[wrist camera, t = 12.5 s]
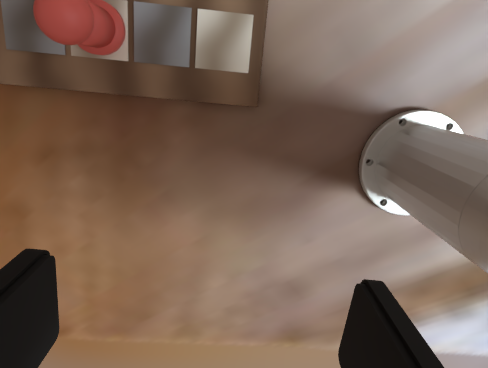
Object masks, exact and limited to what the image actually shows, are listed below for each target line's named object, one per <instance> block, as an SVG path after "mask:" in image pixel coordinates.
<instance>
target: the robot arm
mask: <svg viewBox="0 0 488 368" xmlns="http://www.w3.org/2000/svg"><path fill="white" fill-rule="evenodd" d="M399 121H400V123H399ZM367 160H368V162H366V161H367ZM359 177H360V182H361V185H362V188H363V190H364V192H365V194H366V195H367V197H368V198H369V199H370V200H371V201H372V202H373V203H374V204H375V205H376V206H378V207H379V208H380V209H382V210H384V211H386V212H388V213H392V214H396V215H406V216H407V215H411V216H413V217H414V218H415V219H417V220H418V221H419V222H421V223H422V224H423V225H424V226H426V227H427V228H428V229H430V230H431V231H432V232H434V233H435V234H436V235H438V236H439V237H440V238H441V239H443V240H444V241H445V242H447V243H448V244H449V245H451V246H452V247H453V248H455V249H456V250H457V251H458V252H460V253H461V254H463V255H464V256H465V257H466V258H468V259H469V260H470V261H472V262H473V263H475V264H476V265H477V266H479V267H480V268H481V269H483V270H484V271H485V272H487V273H488V140H485V139H481V138H477V137H474V136H470V135H466V134H464V133H463V131H462V129H461V128H460V127H459V126H458V124H457V123H456V122H455V121H454V120H452V119H451V118H450V117H448V116H446V115H444V114H442V113H439V112H435V111H431V110H421V109H420V110H410V111H407V112H403V113H400V114H398V115H396V116H394V117H392V118H390V119H388V120H387V121H386V122H384V123H383V124H382V125H380V126H379V127H378V128H377V129H376V130H375V132H374V133H373V134H372V135H371V137H370V138H369V140H368V141H367V142H366V145H365V147H364V149H363V151H362V154H361V158H360V162H359ZM381 200H382V201H381ZM58 334H59V315H58V298H57V281H56V265H55V258H54V256H50V253H49V251H47V250H38V249H25V250H23V251H22V252H21V253H20V254H18V255H17V256H16V257H15V258H14V259H12V260H11V261H10V262H9V263H8V264H6V265H5V266H4V267H3V268H2V269H0V368H38V367H39V365H40V364H41V362H42V361H43V359H44V358H45V356H46V355H47V353H48V352H49V350H50V349H51V347H52V346H53V344H54V343H55V341H56V339H57V337H58ZM338 356H339V363H340V366H341V368H444V367H443V365H442V364H441V362H440V361H439V360H438V358H437V357H436V355H435V354H434V353H433V351H432V350H431V348H430V347H429V346H428V344H427V343H426V341H425V340H424V338H423V337H422V336H421V334H420V333H419V331H418V330H417V329H416V327H415V326H414V324H413V323H412V322H411V320H410V319H409V317H408V316H407V315H406V313H405V312H404V310H403V309H402V308H401V306H400V305H399V303H398V302H397V300H396V299H395V298H394V296H393V295H392V293H391V292H390V291H389V289H388V288H387V286H386V285H385V284H384V283H383V282H382V281H376V280H365V279H364V280H362V282H361V284H357V285H356V286H355V289H354V293H353V297H352V301H351V305H350V309H349V313H348V316H347V320H346V324H345V328H344V332H343V336H342V340H341V344H340V347H339V354H338Z"/></svg>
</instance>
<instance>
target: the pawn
mask: <svg viewBox="0 0 488 368" xmlns="http://www.w3.org/2000/svg"><path fill="white" fill-rule="evenodd" d="M33 13H34V17H35V20H36V23H37V25H38V26H39V28H40V29H41V31H42V32H43V33H44V34H45V35H46V36H47V37H49V38H50V39H51V40H53V41H55V42H57V43H60V44H63V45H76V44H77V45H78V46H79V47H80V48H82V49H83V50H85V51H86V52H89V53H91V54H96V55H109V54H112V53H114V52H116V51H117V50H118V49H119V48H120V47H121V46H122V44H123V42H124V39H125V32H126V31H125V24H124V21H123V19H122V17H121V15H120V13H119V12H118V11H117V10H116V9H115V8H114V7H113V6H112V5H110V4H108V3H107V2H105V1H103V0H35V1H34V5H33Z"/></svg>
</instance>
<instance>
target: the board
mask: <svg viewBox="0 0 488 368" xmlns="http://www.w3.org/2000/svg"><path fill="white" fill-rule="evenodd" d="M34 1H35V0H0V84H8V85H20V86H31V87H42V88H53V89H64V90H75V91H86V92H97V93H108V94H119V95H130V96H141V97H152V98H163V99H174V100H185V101H196V102H207V103H218V104H229V105H240V106H251V107H257V104H258V95H259V85H260V76H261V66H262V56H263V47H264V37H265V28H266V18H267V8H268V0H103V1H105V2H107V3H108V4H110V5H112V6H113V7H114V8H115V9H116V10H117V11H118V12H119V13H120V15H121V17H122V19H123V21H124V24H125V31H126V32H125V39H124V42H123V44H122V46H121V47H120V48H119V49H118V50H117V51H116V52H114V53H112V54H109V55H96V54H91V53H89V52H86V51H85V50H83V49H82V48H80V47H79V46H78V45H77V44H76V45H63V44H60V43H57V42H55V41H53V40H51V39H50V38H49V37H47V36H46V35H45V34H44V33H43V32H42V31H41V29H40V28H39V26H38V25H37V23H36V20H35V17H34V13H33V5H34Z"/></svg>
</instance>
